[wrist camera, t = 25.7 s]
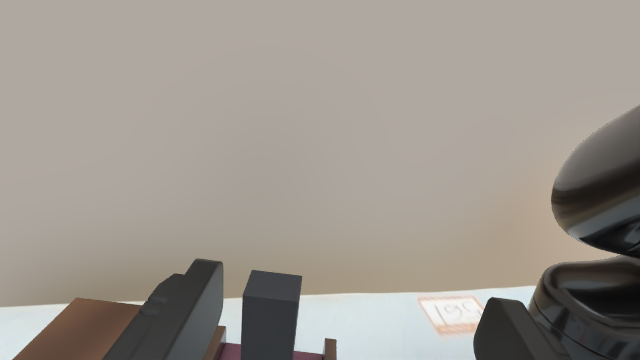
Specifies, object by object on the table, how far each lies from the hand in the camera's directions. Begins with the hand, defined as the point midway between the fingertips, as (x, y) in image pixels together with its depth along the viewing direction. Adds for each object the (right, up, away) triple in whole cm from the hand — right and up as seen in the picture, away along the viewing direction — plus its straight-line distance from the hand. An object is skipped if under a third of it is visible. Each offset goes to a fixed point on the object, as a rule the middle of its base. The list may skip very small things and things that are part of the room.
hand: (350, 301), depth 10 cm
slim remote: (-6, -16, +22) cm, 28 cm away
